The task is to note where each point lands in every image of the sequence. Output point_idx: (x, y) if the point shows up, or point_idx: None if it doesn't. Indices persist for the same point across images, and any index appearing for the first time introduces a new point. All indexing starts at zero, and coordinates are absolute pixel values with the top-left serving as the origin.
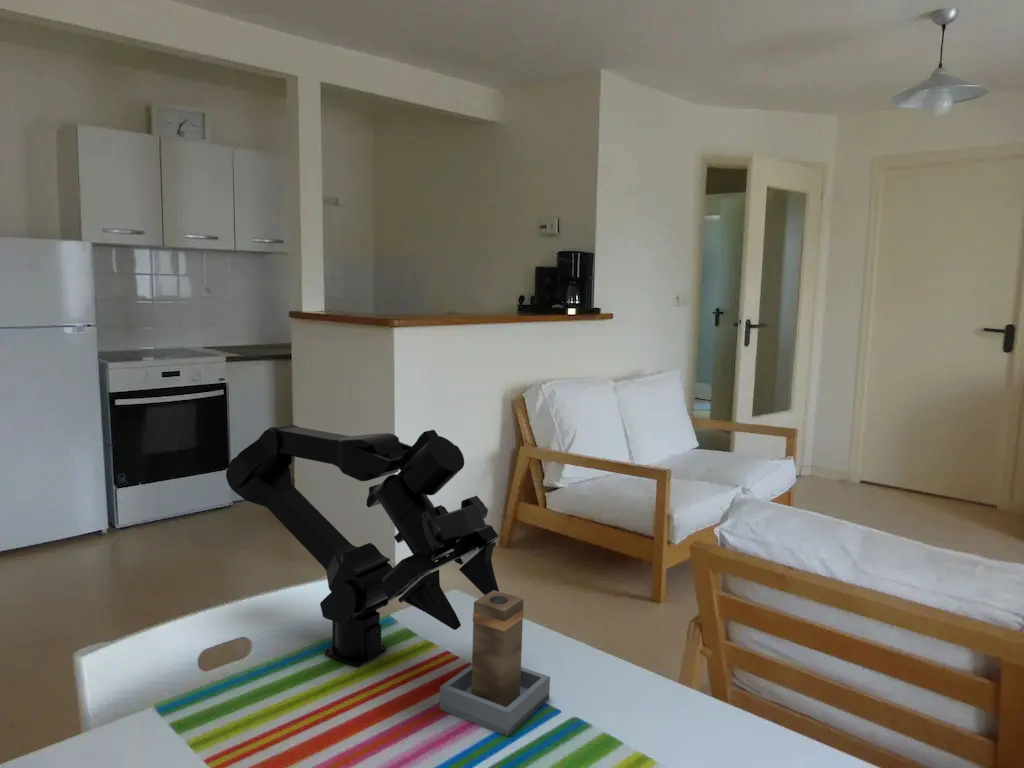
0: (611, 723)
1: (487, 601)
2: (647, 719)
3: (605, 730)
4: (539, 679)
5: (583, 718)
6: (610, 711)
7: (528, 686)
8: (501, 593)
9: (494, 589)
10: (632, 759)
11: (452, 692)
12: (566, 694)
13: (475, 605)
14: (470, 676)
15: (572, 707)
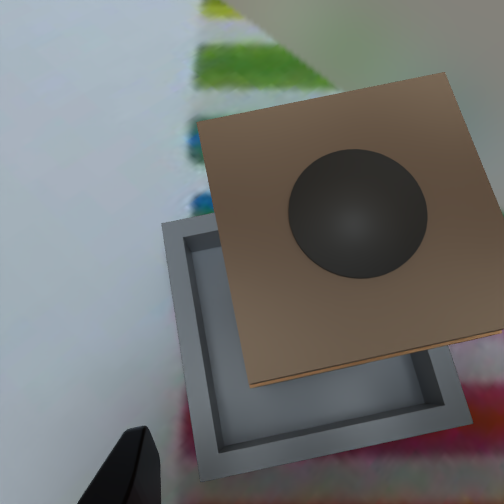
0: (155, 95)
1: (446, 250)
2: (89, 57)
3: (187, 89)
4: (197, 233)
5: (182, 144)
6: (115, 122)
7: (196, 290)
8: (250, 285)
9: (130, 492)
10: (232, 8)
11: (454, 369)
12: (122, 234)
13: None
14: (316, 430)
15: (162, 188)
